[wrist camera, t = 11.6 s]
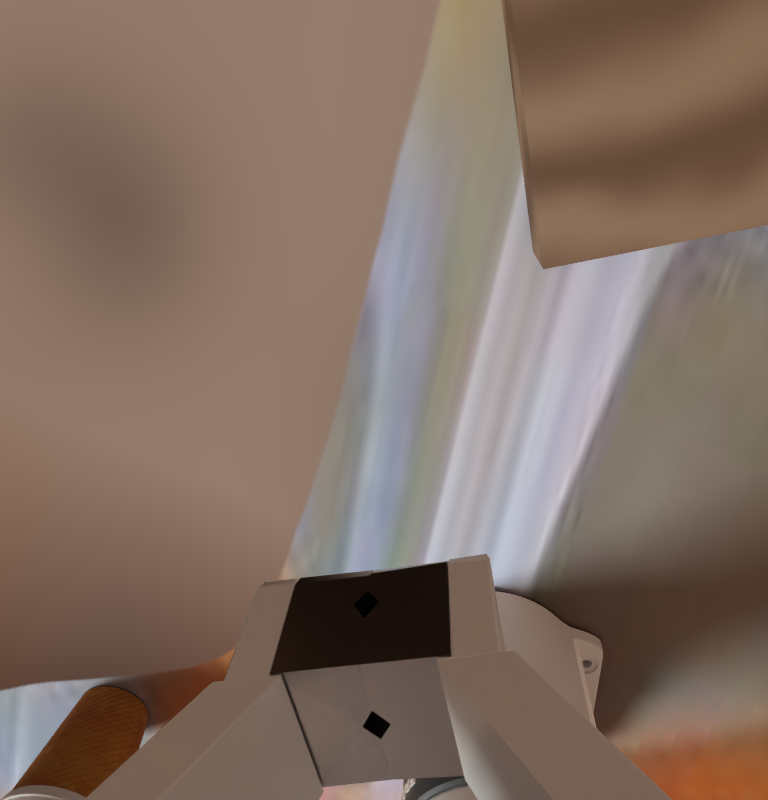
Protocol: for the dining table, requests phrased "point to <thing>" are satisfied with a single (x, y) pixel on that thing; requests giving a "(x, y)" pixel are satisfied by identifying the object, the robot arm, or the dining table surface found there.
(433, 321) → the dining table surface
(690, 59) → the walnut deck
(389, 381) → the dining table surface
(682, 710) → the dining table surface
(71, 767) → the disposable coffee cup
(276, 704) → the robot arm
